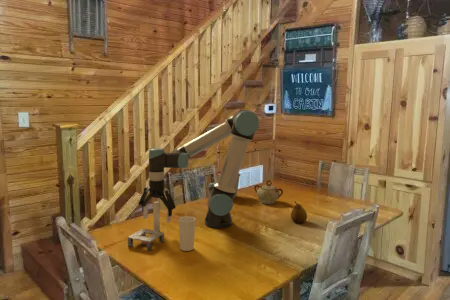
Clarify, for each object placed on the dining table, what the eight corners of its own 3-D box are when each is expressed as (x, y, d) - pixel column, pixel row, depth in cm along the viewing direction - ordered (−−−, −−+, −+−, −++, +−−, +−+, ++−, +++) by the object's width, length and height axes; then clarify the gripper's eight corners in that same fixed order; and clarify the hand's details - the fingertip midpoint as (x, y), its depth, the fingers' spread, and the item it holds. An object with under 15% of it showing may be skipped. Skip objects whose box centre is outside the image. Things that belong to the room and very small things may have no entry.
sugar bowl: (285, 201, 247) (286, 180, 245) (278, 207, 234) (279, 184, 232) (257, 197, 255) (258, 176, 253) (249, 203, 242) (250, 181, 240)
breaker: (151, 242, 175) (151, 239, 174) (147, 245, 171) (147, 241, 171) (145, 241, 176) (145, 237, 176) (140, 243, 173) (140, 240, 172)
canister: (240, 201, 245) (241, 170, 242) (213, 200, 246) (213, 170, 242) (239, 194, 263) (240, 165, 260) (214, 193, 263) (214, 164, 260)
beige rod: (161, 232, 188) (160, 202, 186) (157, 234, 186) (157, 203, 183) (155, 231, 190) (155, 201, 187) (152, 233, 187) (152, 202, 184)
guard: (164, 241, 177) (164, 232, 176) (150, 251, 166) (149, 241, 165) (143, 237, 181) (142, 228, 181) (128, 246, 170) (127, 236, 170)
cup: (188, 254, 164) (188, 223, 161) (174, 249, 168) (174, 219, 166) (199, 247, 170) (199, 218, 168) (185, 243, 175) (185, 215, 172)
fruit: (309, 221, 209) (310, 201, 207) (300, 225, 202) (302, 204, 200) (296, 218, 215) (297, 198, 213) (287, 221, 208) (288, 201, 206)
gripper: (182, 180, 182) (182, 221, 185) (140, 175, 191) (140, 214, 195) (174, 183, 175) (174, 226, 179) (131, 178, 185) (132, 218, 188)
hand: (157, 220), depth 187 cm, fingers open, 13 cm apart
